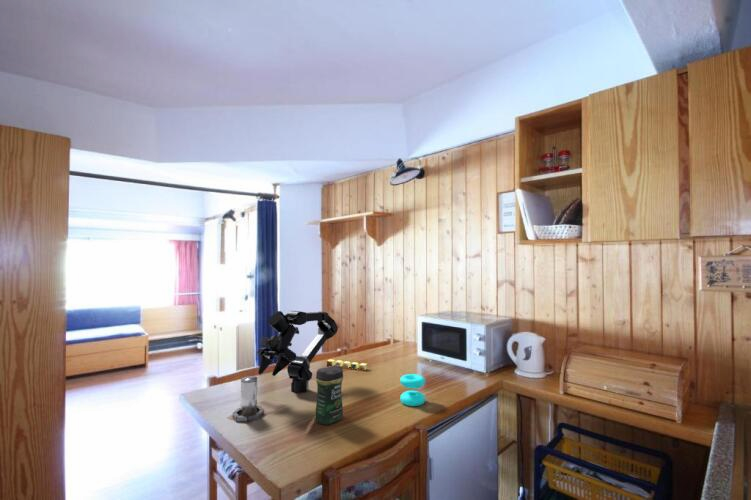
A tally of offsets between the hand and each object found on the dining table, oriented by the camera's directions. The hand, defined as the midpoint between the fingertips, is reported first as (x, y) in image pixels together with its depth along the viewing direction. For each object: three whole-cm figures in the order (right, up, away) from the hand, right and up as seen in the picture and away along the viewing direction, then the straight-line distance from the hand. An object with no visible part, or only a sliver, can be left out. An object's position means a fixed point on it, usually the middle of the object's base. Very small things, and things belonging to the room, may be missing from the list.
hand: (266, 374), depth 131 cm
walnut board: (-2, -13, -4) cm, 14 cm away
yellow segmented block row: (+27, -16, +51) cm, 60 cm away
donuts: (+57, -14, +7) cm, 59 cm away
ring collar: (-4, -12, -8) cm, 15 cm away
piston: (-4, -12, -8) cm, 15 cm away
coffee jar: (+26, -13, -9) cm, 30 cm away
